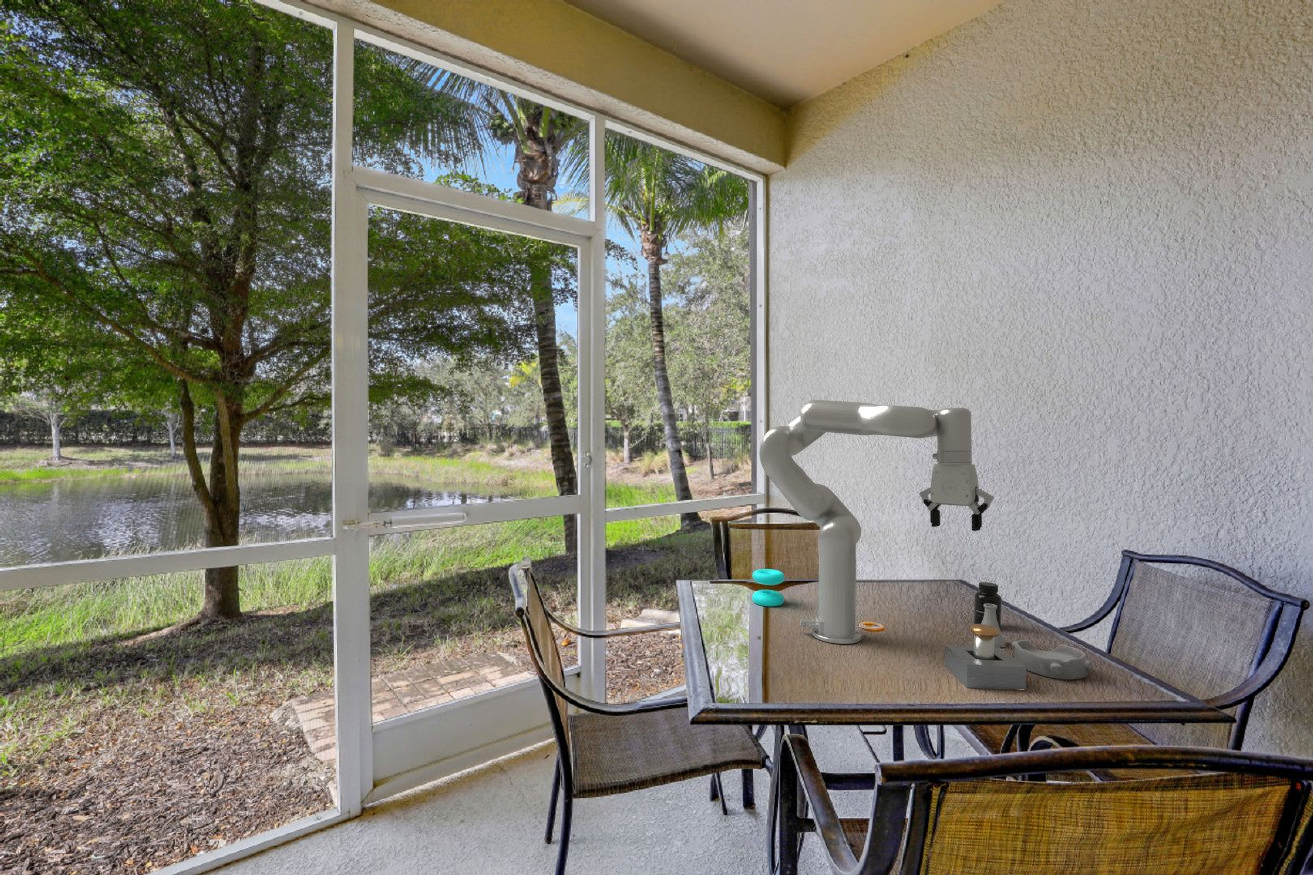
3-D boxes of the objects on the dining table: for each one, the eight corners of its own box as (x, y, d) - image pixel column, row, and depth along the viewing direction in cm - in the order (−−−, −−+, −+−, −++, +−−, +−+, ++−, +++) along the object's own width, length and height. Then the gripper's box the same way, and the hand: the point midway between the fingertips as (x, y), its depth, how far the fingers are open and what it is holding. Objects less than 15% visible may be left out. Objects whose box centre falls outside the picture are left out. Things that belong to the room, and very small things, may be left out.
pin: (976, 682, 132) (977, 630, 132) (965, 672, 138) (966, 623, 137) (1001, 683, 132) (1002, 632, 132) (990, 673, 137) (991, 624, 137)
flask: (1010, 649, 153) (1010, 610, 153) (979, 646, 155) (979, 607, 155) (999, 639, 160) (1000, 602, 160) (970, 637, 162) (971, 600, 162)
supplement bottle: (975, 627, 170) (975, 585, 170) (972, 621, 176) (973, 579, 176) (1002, 631, 168) (1003, 587, 167) (999, 624, 174) (1000, 582, 174)
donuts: (788, 575, 187) (757, 575, 186) (788, 607, 188) (756, 607, 186) (778, 567, 197) (748, 568, 196) (778, 598, 197) (748, 598, 196)
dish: (1003, 658, 148) (1003, 637, 147) (1061, 659, 147) (1061, 639, 147) (1038, 682, 133) (1039, 659, 133) (1103, 684, 133) (1104, 661, 133)
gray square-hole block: (966, 687, 129) (967, 664, 129) (944, 666, 141) (945, 644, 141) (1025, 690, 128) (1026, 667, 128) (998, 668, 140) (999, 647, 140)
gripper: (912, 458, 153) (913, 526, 153) (985, 459, 139) (986, 533, 139) (927, 457, 158) (928, 523, 157) (998, 458, 144) (999, 530, 144)
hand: (955, 528), depth 148 cm, fingers open, 9 cm apart
